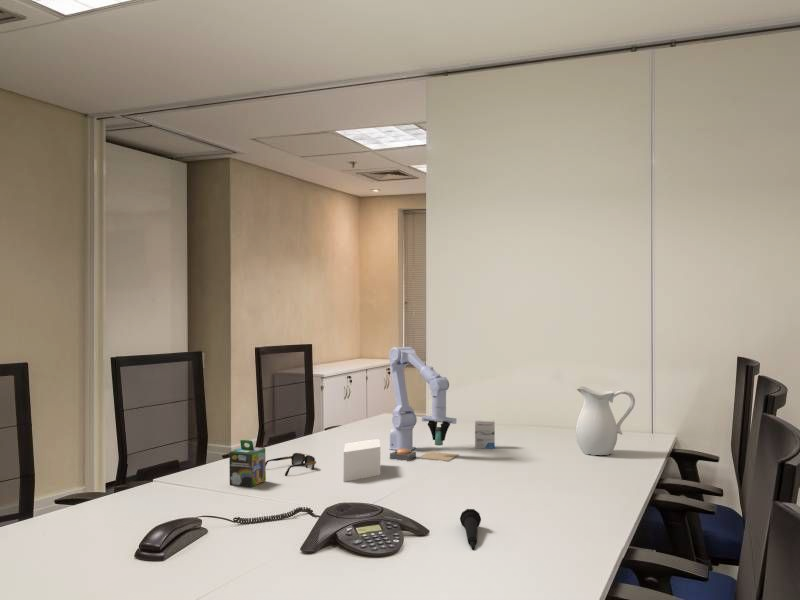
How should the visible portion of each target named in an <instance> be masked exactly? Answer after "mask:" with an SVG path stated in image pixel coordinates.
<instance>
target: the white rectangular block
mask: <svg viewBox="0 0 800 600" xmlns="http://www.w3.org/2000/svg"><path fill="white" fill-rule="evenodd" d="M376 475H377V476H380V475H381V441H380V438H374V439H368V440H360V441H354V442H346V443H345V442H344V449H343V479H342V481H343V482H348V481H354V480H360V478H361V479H365V478H371V476H372V477H376Z"/></svg>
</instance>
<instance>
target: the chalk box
mask: <svg viewBox="0 0 800 600" xmlns="http://www.w3.org/2000/svg"><path fill="white" fill-rule="evenodd" d="M239 443H240V447H238V448H235V449H233V450H230V451H229V457H228V458H229V459H228V461H229V467H228V469H229V485H230V486H239V487H240V486H241V487H246V488H253V487H255V486H257V485H259V484H261V483H264V482H265V481H267V477H266V474H267V472H266V471H267V470H266V467H267V465H266V447H255V446H254V443H253V440H249V439H240V441H239ZM245 444H248V445H249V446H245Z"/></svg>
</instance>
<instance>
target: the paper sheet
mask: <svg viewBox="0 0 800 600" xmlns="http://www.w3.org/2000/svg"><path fill="white" fill-rule="evenodd" d="M458 455H459V456H460V454H459V453H450V452H449V453H448V452H438V451H437V452H436V451H428V452H426V453H424V454H422V455H419V456H417V459H420V458H424V459H423V460H430V459H433V460H432V461H439V460H443V461H442V462H450V461H452V460H453V459H455V458H457V457H458ZM456 456H457V457H456ZM451 459H452V460H451ZM449 460H450V461H449Z"/></svg>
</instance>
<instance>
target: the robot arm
mask: <svg viewBox="0 0 800 600" xmlns="http://www.w3.org/2000/svg"><path fill="white" fill-rule="evenodd" d="M388 357H389V364H390V365H389V368H390V376H391V379H392V388H393V393H394V400H395V406H396V407H395V408H394V410H392V412H391V413H392V419H391V423H392V426H393V427H392V428H391V429H390V433H389V448H388V450H394V451H397V449H409V451H412V450H413V451H414V449H417V447H416V446H413V445H414V444H413V438H414V437H413V432H414V431H413V430H414V429H415V426H416V424H417V421H418V419H417V418H418V417H417V416H416V414H415V411H414V410H415V409H414V408H413V407H412V406H411V405H409V399H408V393H407V391H408V390H407V386H406V378H405V372H404V368H406V366H408V365H409V364H411V365H412V366H413V367H414V368H416V369H417V371H419V373H420V376H421V378H422V379H423V380H425V382H426V383H427V384H428V386H429V387H428V388H429V390H430V394H431V396H432V397H431V398H432V399H431V405H432V406H431V415H430V416H429V415H423V416H421V422H428V423H427V426H428V428H429V430H430V434H431V437H432V441H435V427H438V423H440V427H441V432H442V434H441V440H442V441H443V442H444V441H445V440H446V435H447V433H448V430H449V428H450V426H451V424H452V425H455V424H457V418H455V417H448V416H447V390H449V388H450V382H449V381H450V380H449V379H448V378H447V377H446V376H442V375H441V374H440V373H438V371H436V370H435V369H434V367H433V366H431V365H426V364H425V363H424V362H423V361H422V360H421V358H420V357H419V356H418V355H417V352H416V350H415V349H414V348H413V347H411V346H402V347H397V346H394V347H392V348H391V349H390V351H389V353H388Z"/></svg>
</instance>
